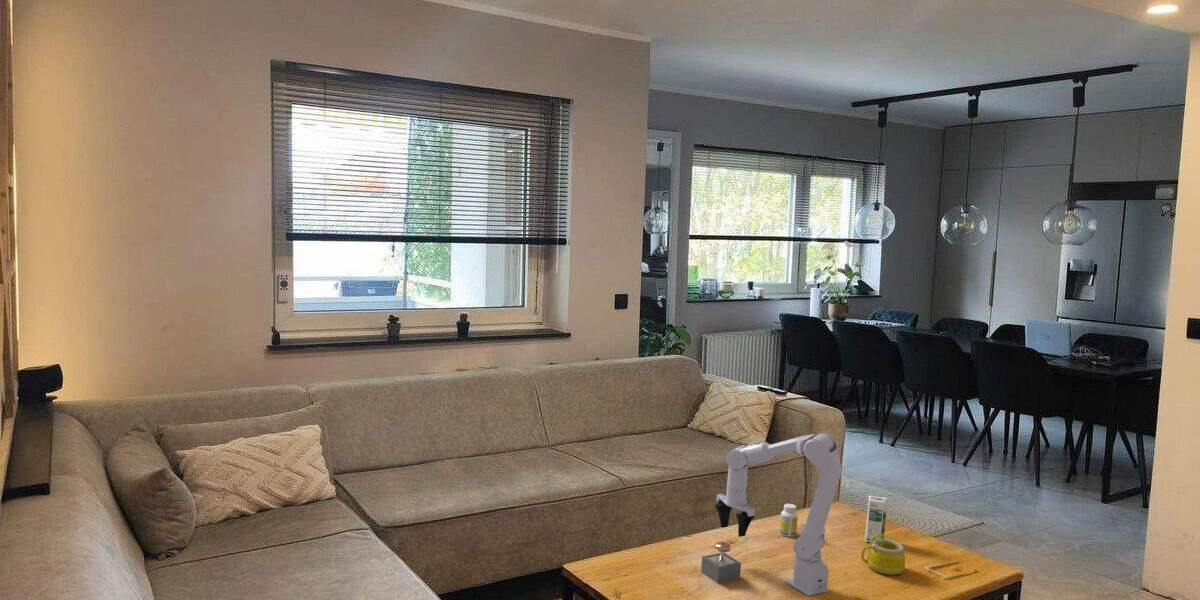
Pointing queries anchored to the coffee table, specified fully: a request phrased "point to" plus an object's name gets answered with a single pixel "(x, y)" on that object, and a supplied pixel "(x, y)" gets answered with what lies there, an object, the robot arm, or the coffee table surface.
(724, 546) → the plunger
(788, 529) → the supplement bottle
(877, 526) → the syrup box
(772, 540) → the coffee table surface
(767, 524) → the coffee table surface
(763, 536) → the coffee table surface
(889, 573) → the mug
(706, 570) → the open grey square tray
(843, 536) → the coffee table surface
